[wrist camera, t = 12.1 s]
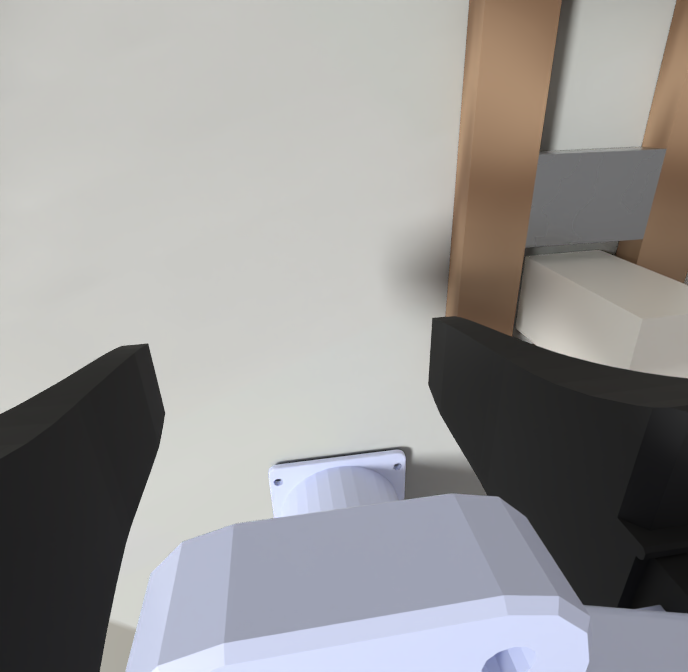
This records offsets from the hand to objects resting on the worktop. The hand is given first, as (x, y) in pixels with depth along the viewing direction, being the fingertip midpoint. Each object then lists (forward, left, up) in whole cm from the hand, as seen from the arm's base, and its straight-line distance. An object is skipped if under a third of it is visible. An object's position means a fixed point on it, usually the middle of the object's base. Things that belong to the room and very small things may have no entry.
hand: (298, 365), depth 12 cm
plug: (-3, -14, -10) cm, 18 cm away
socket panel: (+2, -14, -10) cm, 18 cm away
